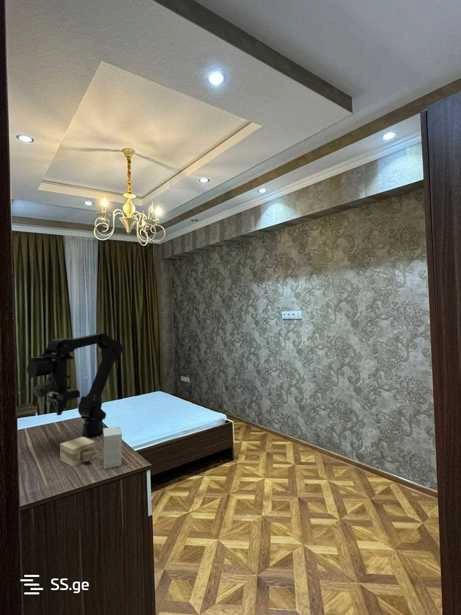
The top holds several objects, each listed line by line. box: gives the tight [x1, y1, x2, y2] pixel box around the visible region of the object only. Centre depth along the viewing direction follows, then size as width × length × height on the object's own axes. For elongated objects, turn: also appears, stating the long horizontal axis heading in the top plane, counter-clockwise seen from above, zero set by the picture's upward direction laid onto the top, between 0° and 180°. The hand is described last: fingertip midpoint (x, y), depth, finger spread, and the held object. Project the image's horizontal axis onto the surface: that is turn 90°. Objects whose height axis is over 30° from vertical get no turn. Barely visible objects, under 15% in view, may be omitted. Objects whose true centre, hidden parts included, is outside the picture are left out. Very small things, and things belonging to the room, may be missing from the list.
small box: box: [102, 425, 123, 470], centre depth 106 cm, size 8×6×10 cm
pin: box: [80, 449, 94, 462], centre depth 109 cm, size 4×12×4 cm, turn 54°
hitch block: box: [59, 436, 97, 467], centre depth 109 cm, size 8×8×6 cm
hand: (59, 415), depth 119 cm, fingers closed
